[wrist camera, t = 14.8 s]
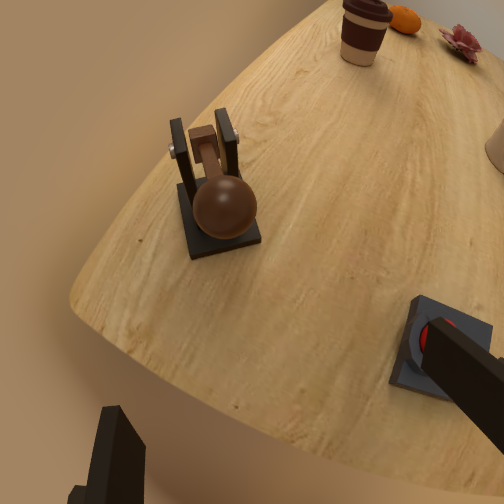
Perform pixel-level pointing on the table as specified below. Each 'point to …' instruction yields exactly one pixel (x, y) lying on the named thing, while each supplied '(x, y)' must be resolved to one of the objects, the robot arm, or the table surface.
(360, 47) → the coffee cup
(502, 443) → the robot arm
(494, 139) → the mug
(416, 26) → the fruit
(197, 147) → the lever
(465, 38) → the flower
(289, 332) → the table surface
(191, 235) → the bracket
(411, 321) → the button block
